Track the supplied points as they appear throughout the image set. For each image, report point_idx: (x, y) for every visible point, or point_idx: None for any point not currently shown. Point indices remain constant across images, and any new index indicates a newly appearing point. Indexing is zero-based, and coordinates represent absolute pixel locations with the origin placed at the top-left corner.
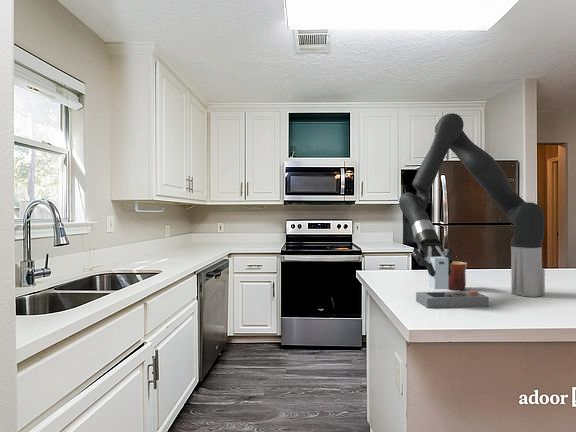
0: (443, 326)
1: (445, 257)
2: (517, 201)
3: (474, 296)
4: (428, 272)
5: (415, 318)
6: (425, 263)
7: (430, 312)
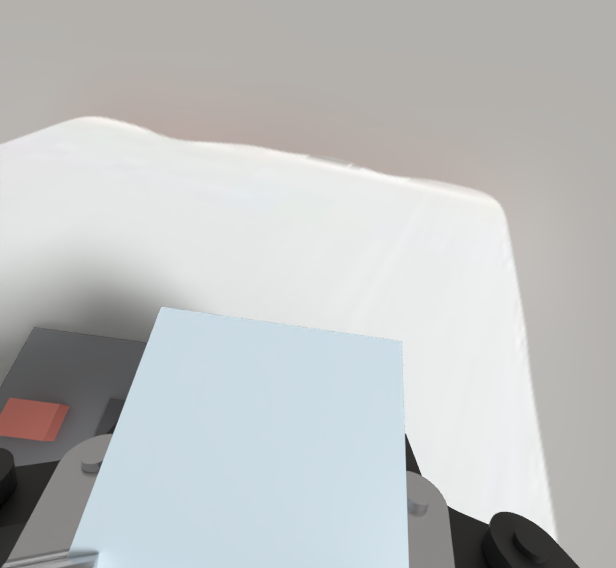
0: (409, 194)
1: (124, 415)
2: None
3: (97, 356)
4: None
5: (465, 270)
6: (460, 513)
7: (385, 320)
